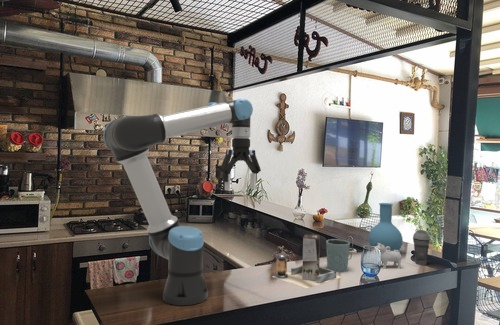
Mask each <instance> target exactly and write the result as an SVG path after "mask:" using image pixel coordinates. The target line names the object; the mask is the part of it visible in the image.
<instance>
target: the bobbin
mask: <svg viewBox="0 0 500 325" xmlns="http://www.w3.org/2000/svg"><path fill="white" fill-rule="evenodd" d="M275 258H276V273H275V274H274V276H275V277H276V278H275V279H277V278H281V279H284V278H287V277H288V274H286V273H287V272H288V271H287V269H288V268H287V266H288V260H287V259H288V258H289V254H287V253H282V252H281V253H280V252H279V253H276V254H275Z"/></svg>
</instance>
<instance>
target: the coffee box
mask: <svg viewBox="0 0 500 325" xmlns="http://www.w3.org/2000/svg"><path fill="white" fill-rule="evenodd" d="M320 242H321V235H320V234H306V233H305V234H304V235H303V237H302V265H303V266H302V265H301V266H302V279H305V280H315V281H316V276H318V275H319V267H320V255H321V254H320V253H321V252H320V248H321V247H320V245H321V244H320Z"/></svg>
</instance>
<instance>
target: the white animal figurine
mask: <svg viewBox="0 0 500 325" xmlns="http://www.w3.org/2000/svg"><path fill="white" fill-rule="evenodd" d="M377 244H378V246H375V247H376V248H378V249H379V250H380V252H381V261H382V265H381V266H380V267H382V269H384V270H385V269H386V268H387V264H388V262H390V263H391V262H392V263H393V265H392V266H393V267H396V266H397V268H396V269H399V270H400V269H401V263H402V258H403V255H402V254H401V251H400V250H394V251H390V247H389V246H387V247H386V248H385V246H384V245H382V244H380V243H377ZM387 248H388V249H387Z"/></svg>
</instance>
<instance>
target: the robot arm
mask: <svg viewBox="0 0 500 325" xmlns="http://www.w3.org/2000/svg"><path fill="white" fill-rule="evenodd" d="M253 108H254V107H253V104H252V103H251V101H249V100H248V99H246V98H237V99H235V100H230V101H225V102H216V101H215V102H208V103H207V105H206V106H201V107H197V108H196V107H195V108H192V109H191V108H190V109H188V110H183V111H178V112H174V113H168V114H165V115H164V114H163V115H160V114H159V113H153V114H148V115H147V114H146V115H130V116H129V115H128V116H124V117H119V118H116V119H114V120H112V121H110V122H109V123H108V124H107V125H106V126H105V129H104V130H103V143H104V144H105V145H106V147H107V148H108V149H109V150H110V151H111V152H112V154H113V157H114V159H115V161H116V163H118V164H120V165H122V166H123V168H124V170H125V173H126V175H127V177H128V180H129V182H130V184H131V186H132V189H133V190H134V193H135V196H136V197H137V200H138V202H139V205H140V206H141V207H140V208H141V210H142V211H143V214H144V217H145V218H146V221H147V223H148V227H147V229H146V231H147V234H148V236H149V237H148V242H149V243H148V244H149V246H150V248H151V249H152V251H153V252H154V253H155V254H156V255H157V256H160V257H162V258H163V259H165V260H167V261H168V263H167V264H168V267H167V268H168V271H167V272H168V273H167V274H168V276H167V279H166V281H165V285H164V288H163V291H162V300H163V302H165V303H167V304H170V305H174V306H175V305H176V306H191V305H192V306H193V305H196V304H197V305H198V304H201V303H202V302H205V301H206V300H207V299H208V296H209V291H208V290H209V289H208V286H207V283H206V281H205V277H204V272H203V271H204V244H205V243H204V242H205V241H204V234H203V232H202V231H201V229H199V228H197V227H193V226H188V225H181V224H180V220H179V219H178V217H177V216H175V215H173V214H172V213H171V211H170V208H169V205H168V203H167V200H166V199H165V197H164V193H163V191H162V189H161V187H160V184H159V182H158V179H157V177H156V175H155V171H154V170H153V167H152V164H151V162H150V160H149V158H148V153H149V150H150V149H149V148H150V147H153V146H155V145H158V144H161V143H165V142H166V140H167V139H170V138H173V137H174V138H175V137H177V136H181V135H185V134H189V133H193V132H198V131H201V130H205V129H209V128H213V127H217V126H221V125H225V124H231V137H232V139H231V147H232V149H225V156H224V158H223V161H222V163H221V166H220V167H219V173H220V174H223V183H224V191H231V174H230V172H231V171H232V169H233V167H235V165H236V164H237V162H238V161H240V162H241V161H242V162H245V163H246V166H247V167H248V168H249V170H250V171H251V173H250V174H249V175H250V176H249V180H250V183H249V186H250V187H249V188H250V189H251V190H256V189H257V186H256V185H257V184H256V183H257V180H258V174H259V173H260V172H261V167H260V164H259V162H258V159H257V156H256V150H255V149H250V148H251V139H250V138H251V119H252V118H251V117H252V115H253V111H254V109H253Z"/></svg>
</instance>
